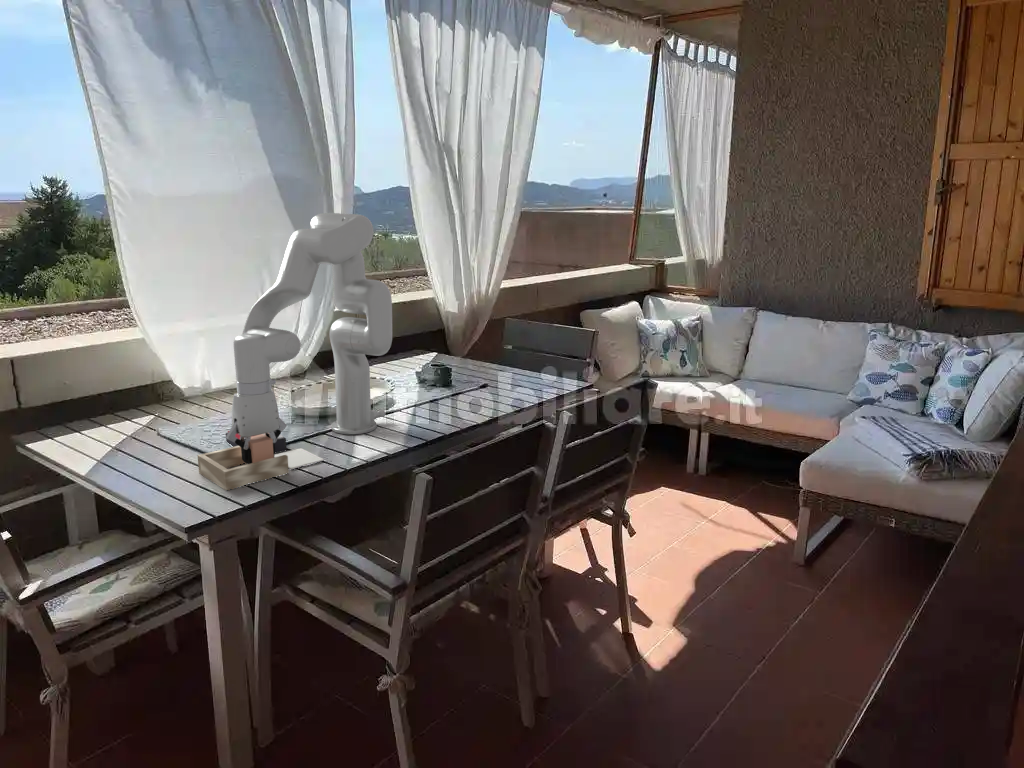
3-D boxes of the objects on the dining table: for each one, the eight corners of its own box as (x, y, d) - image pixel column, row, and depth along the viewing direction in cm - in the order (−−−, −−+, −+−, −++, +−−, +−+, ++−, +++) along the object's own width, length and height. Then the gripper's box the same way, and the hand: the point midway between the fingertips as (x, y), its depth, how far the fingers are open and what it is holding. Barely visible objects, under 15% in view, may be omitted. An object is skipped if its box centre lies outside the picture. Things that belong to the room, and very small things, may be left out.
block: (264, 457, 179) (262, 434, 178) (274, 462, 176) (272, 439, 174) (244, 462, 176) (242, 438, 174) (254, 467, 172) (252, 443, 171)
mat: (300, 450, 190) (300, 448, 189) (323, 461, 182) (323, 459, 182) (268, 458, 183) (268, 456, 183) (290, 470, 176) (290, 468, 176)
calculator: (266, 423, 200) (286, 435, 188) (267, 438, 201) (287, 451, 189) (224, 430, 194) (243, 443, 182) (226, 445, 195) (244, 459, 183)
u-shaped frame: (259, 458, 183) (258, 441, 182) (288, 473, 174) (287, 456, 173) (199, 473, 173) (197, 455, 172) (226, 490, 163) (224, 472, 162)
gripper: (279, 378, 179) (283, 448, 184) (211, 390, 168) (217, 464, 172) (295, 384, 174) (299, 456, 179) (225, 397, 162) (231, 473, 167)
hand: (259, 459), depth 176 cm, fingers closed on block, 5 cm apart
